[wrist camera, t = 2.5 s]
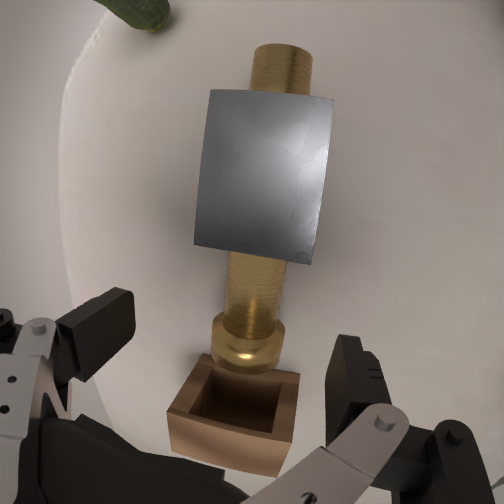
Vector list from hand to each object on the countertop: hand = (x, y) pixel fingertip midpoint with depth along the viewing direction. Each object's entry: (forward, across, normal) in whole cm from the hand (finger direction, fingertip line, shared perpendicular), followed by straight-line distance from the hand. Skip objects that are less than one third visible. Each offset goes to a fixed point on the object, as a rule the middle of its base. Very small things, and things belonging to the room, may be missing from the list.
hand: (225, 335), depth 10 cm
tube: (+8, 0, -4) cm, 9 cm away
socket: (+10, 0, +11) cm, 15 cm away
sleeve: (+9, 0, -6) cm, 11 cm away
